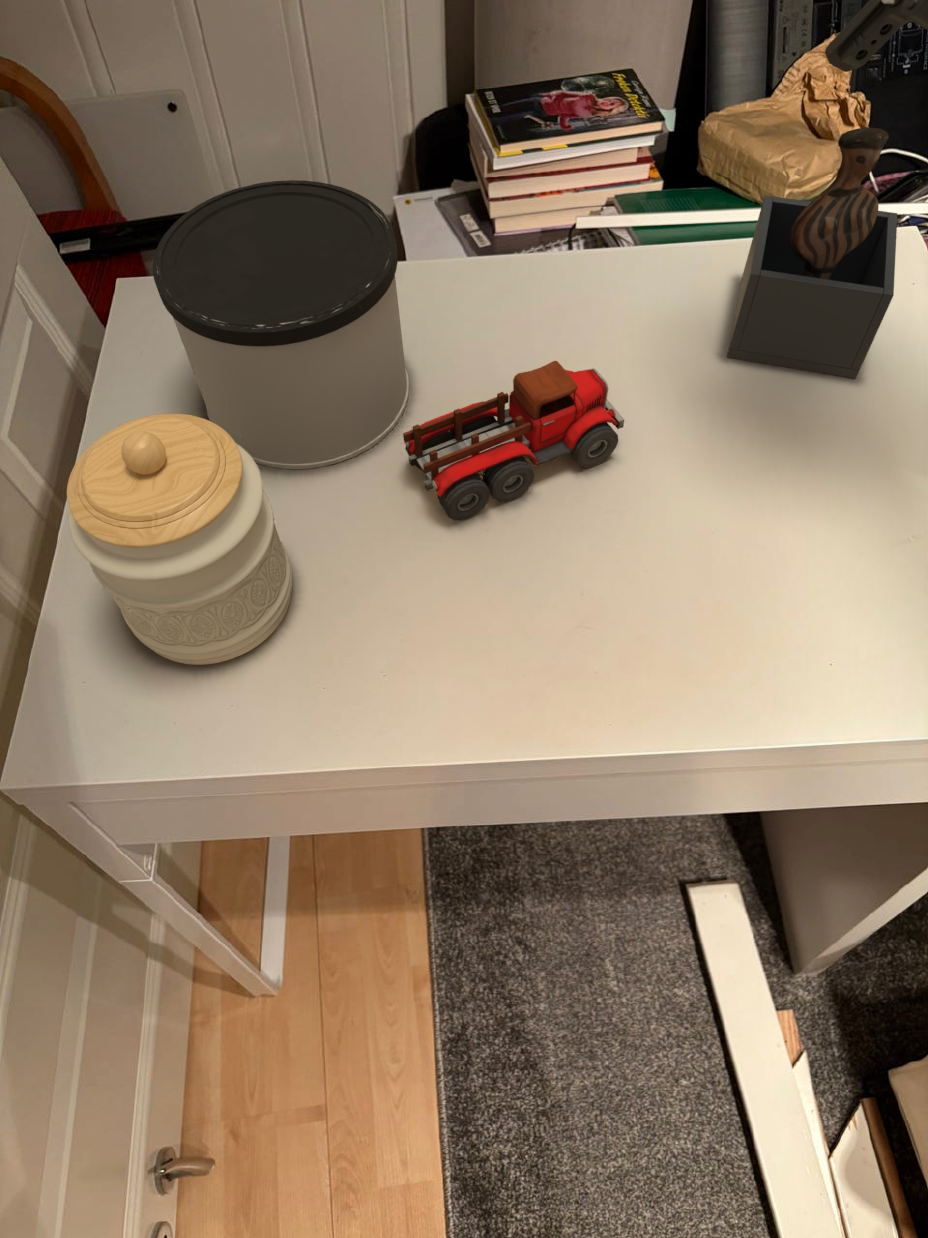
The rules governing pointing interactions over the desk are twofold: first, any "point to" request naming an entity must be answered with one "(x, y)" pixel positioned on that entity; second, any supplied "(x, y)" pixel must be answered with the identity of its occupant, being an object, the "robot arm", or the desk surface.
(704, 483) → the desk surface
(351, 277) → the container
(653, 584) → the desk surface
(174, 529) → the jar
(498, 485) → the toy truck
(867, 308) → the bin
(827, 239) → the figurine
